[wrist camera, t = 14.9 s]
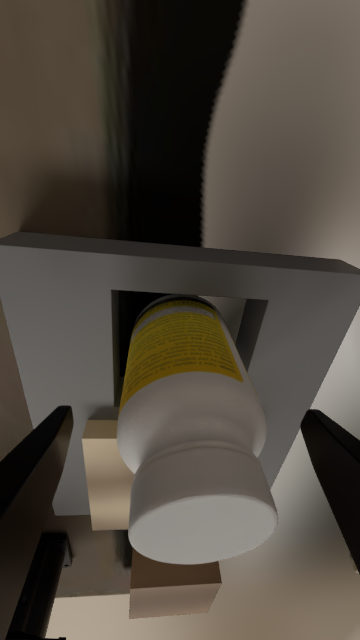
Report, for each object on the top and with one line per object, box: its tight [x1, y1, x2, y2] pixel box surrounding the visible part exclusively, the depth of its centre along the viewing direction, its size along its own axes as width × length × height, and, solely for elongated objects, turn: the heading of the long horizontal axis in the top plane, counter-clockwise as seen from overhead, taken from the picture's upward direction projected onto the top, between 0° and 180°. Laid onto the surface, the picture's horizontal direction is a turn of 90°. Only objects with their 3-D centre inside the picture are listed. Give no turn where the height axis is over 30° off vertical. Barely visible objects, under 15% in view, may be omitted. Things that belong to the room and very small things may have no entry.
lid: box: [82, 420, 222, 619], centre depth 15 cm, size 10×10×6 cm
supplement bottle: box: [117, 294, 278, 564], centre depth 11 cm, size 5×5×10 cm
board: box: [0, 231, 360, 516], centre depth 17 cm, size 20×16×2 cm
